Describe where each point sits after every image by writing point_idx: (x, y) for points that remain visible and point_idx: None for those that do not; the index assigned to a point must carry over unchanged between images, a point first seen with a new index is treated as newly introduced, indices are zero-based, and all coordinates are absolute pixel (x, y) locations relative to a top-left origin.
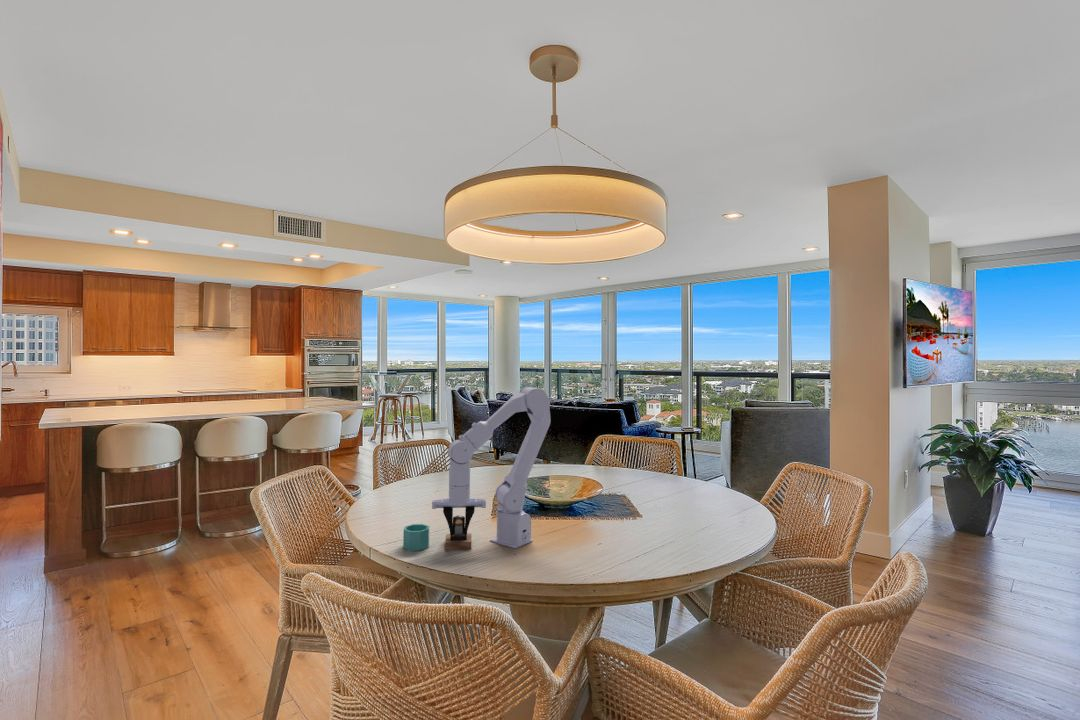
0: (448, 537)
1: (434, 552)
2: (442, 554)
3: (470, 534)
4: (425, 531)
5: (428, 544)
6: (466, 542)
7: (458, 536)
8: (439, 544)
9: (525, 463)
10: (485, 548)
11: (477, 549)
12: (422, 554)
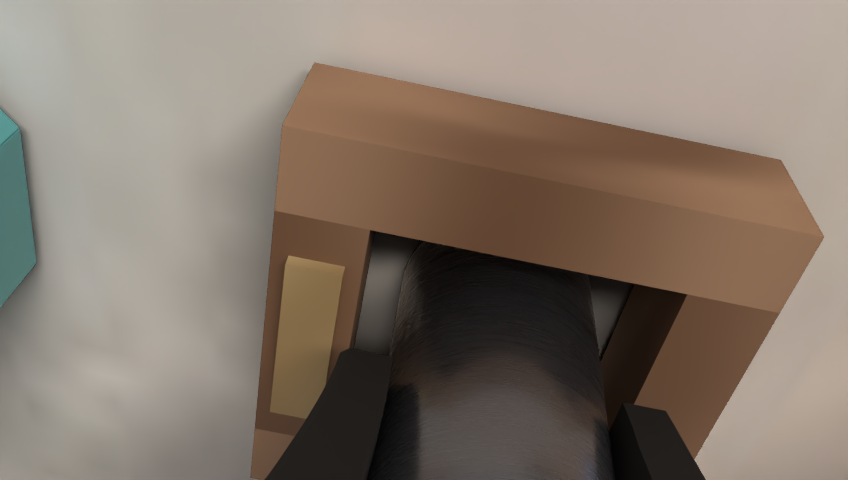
0: (311, 352)
1: (148, 392)
2: (249, 464)
3: (773, 285)
4: None
5: (13, 266)
6: None
7: None
8: (199, 140)
9: None
10: (832, 456)
11: (712, 455)
12: (7, 405)
